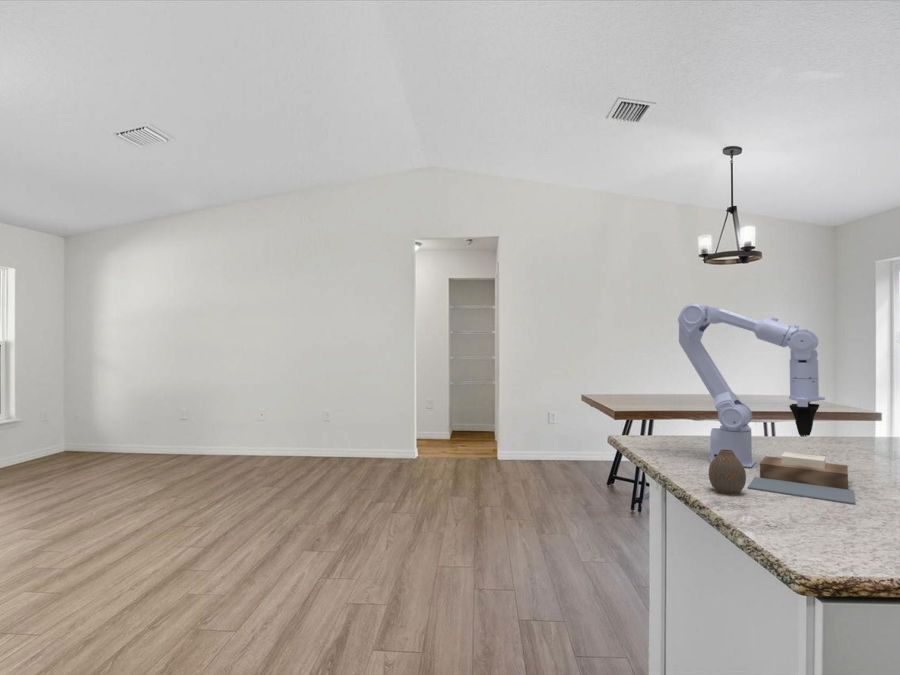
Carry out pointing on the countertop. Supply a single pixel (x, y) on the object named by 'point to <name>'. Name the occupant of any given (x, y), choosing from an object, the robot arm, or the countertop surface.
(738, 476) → the vase
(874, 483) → the countertop surface
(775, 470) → the block
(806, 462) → the tile
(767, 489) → the mat
